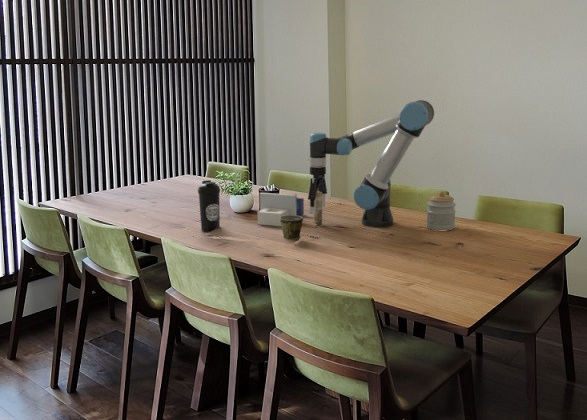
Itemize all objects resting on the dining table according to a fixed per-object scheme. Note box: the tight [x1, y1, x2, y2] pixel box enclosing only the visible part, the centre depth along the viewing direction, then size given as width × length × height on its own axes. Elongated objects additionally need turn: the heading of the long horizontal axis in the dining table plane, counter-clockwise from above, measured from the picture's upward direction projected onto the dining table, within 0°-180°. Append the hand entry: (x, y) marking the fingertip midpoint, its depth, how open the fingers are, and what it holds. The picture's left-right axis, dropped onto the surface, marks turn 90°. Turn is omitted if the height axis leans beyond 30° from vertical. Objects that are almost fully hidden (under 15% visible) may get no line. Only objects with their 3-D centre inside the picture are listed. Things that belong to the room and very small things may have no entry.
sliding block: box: [257, 208, 289, 227], centre depth 335 cm, size 12×10×6 cm
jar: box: [425, 190, 457, 231], centre depth 325 cm, size 13×13×18 cm
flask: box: [292, 193, 305, 217], centre depth 356 cm, size 9×3×11 cm, turn 61°
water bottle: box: [197, 179, 221, 233], centre depth 327 cm, size 10×10×23 cm
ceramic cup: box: [280, 215, 304, 242], centre depth 308 cm, size 13×10×10 cm
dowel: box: [313, 190, 323, 227], centre depth 334 cm, size 4×4×16 cm
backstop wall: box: [259, 192, 297, 215], centre depth 331 cm, size 18×23×14 cm
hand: (317, 210), depth 334 cm, fingers open, 13 cm apart
